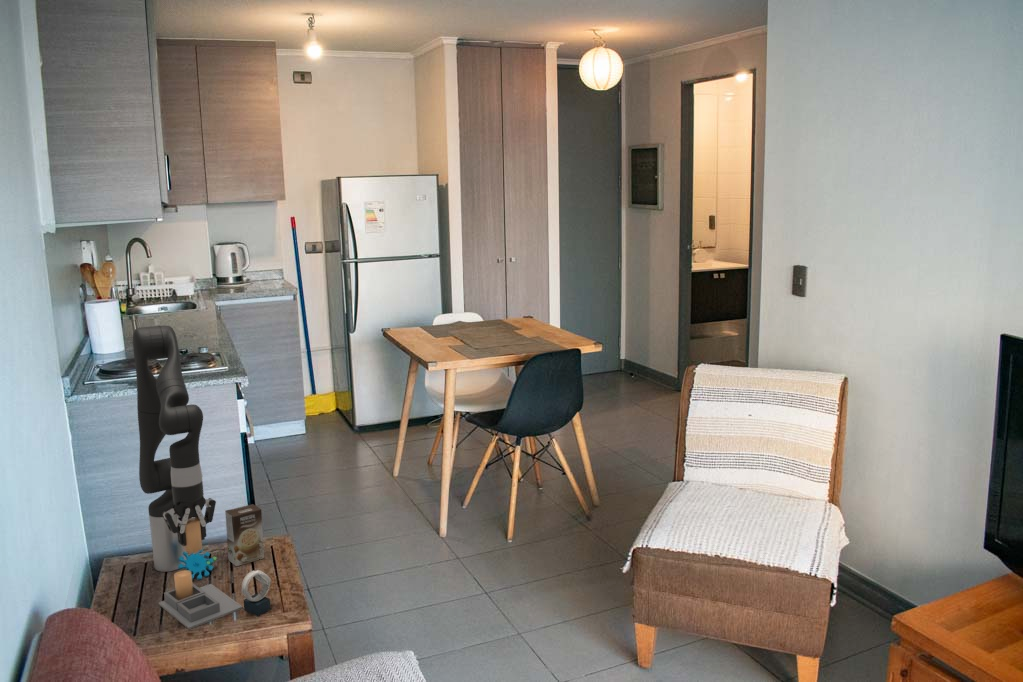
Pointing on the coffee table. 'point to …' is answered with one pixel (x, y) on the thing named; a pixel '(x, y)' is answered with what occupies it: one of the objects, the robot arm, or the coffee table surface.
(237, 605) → the housing
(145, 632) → the coffee table surface
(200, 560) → the blue knobbed wheel
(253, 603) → the watch
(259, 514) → the coffee box
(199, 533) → the orange peg
